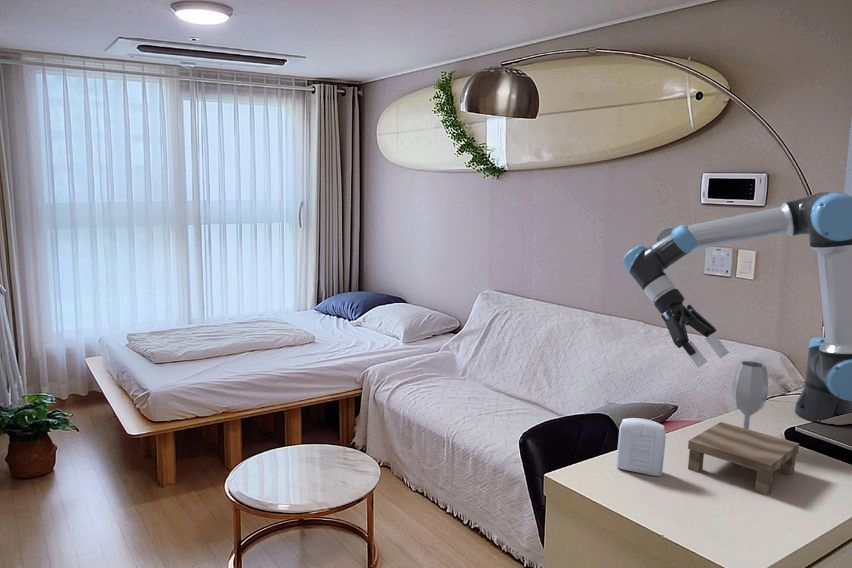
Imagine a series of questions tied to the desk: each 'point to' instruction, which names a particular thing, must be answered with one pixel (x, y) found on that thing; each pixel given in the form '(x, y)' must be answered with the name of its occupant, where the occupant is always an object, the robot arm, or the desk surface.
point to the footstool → (744, 452)
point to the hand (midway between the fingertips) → (714, 360)
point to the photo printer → (641, 446)
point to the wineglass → (750, 388)
